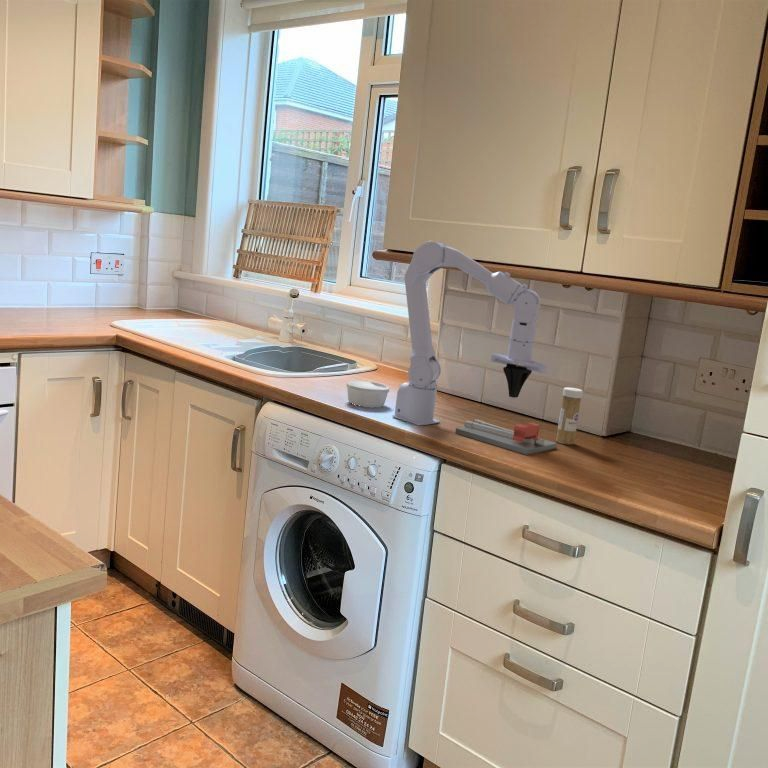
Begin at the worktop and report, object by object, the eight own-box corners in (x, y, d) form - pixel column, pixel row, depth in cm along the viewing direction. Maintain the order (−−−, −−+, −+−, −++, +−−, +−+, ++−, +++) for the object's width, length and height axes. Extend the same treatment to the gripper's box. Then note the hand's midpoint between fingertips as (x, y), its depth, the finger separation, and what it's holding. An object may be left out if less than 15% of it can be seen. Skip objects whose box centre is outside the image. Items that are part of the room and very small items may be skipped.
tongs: (463, 426, 196) (464, 420, 196) (476, 424, 200) (477, 418, 200) (536, 447, 183) (537, 441, 182) (548, 445, 186) (549, 439, 186)
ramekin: (395, 406, 215) (397, 387, 214) (369, 411, 206) (372, 391, 206) (362, 398, 222) (364, 379, 221) (336, 401, 213) (338, 382, 212)
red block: (512, 439, 186) (514, 425, 185) (528, 436, 191) (530, 422, 190) (521, 442, 184) (523, 427, 184) (537, 439, 189) (539, 424, 189)
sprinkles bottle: (571, 446, 193) (580, 391, 191) (552, 442, 196) (561, 387, 193) (576, 443, 197) (585, 389, 195) (558, 439, 200) (567, 385, 197)
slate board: (455, 433, 193) (455, 428, 193) (486, 427, 203) (487, 423, 202) (526, 455, 180) (527, 449, 180) (556, 448, 190) (556, 443, 189)
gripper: (487, 336, 193) (479, 391, 196) (539, 346, 184) (530, 404, 186) (503, 335, 198) (495, 389, 201) (555, 346, 189) (546, 402, 191)
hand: (513, 396), depth 194 cm, fingers closed
